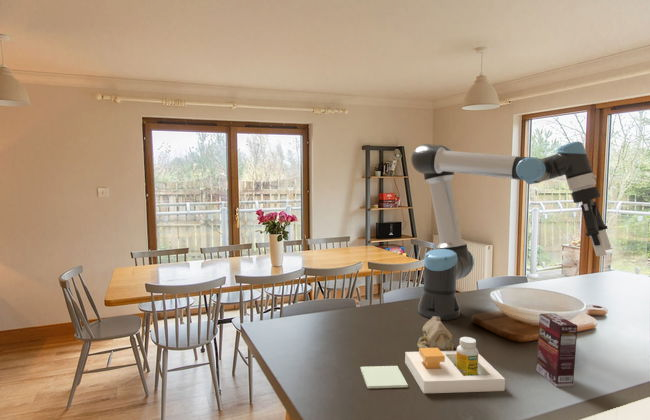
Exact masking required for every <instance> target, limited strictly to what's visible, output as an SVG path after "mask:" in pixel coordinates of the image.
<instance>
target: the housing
mask: <svg viewBox="0 0 650 420" xmlns="http://www.w3.org/2000/svg"><path fill="white" fill-rule="evenodd" d="M441 352H442V353H443V355H444V356H445V362H440V368H439V369H426V368H425V367H424V365H423V359H422V357H421V356H420V354H419V351H405V352H404V353H405V354H404V355H405V356H404V358H405V359H404V363H405V365H406V367H407V368H408V370H409V371H410V373H411V375H412V377H413V378H414V380H415V381H416V383H417V385H418V386H419V388H420V390H421V391H422V393H423V394H443V393H444V394H447V393H448V394H450V393H452V394H453V393H477V392H478V393H479V392H480V393H481V392H484V393H485V392H505V389H506V388H505V387H506V386H505V385H506V378H505V377H503V375H502V374H501V373H499V371H498V370H497V369H495V368H494V367H493V365H491V364H490V363H489V362H488V361H487V360H486V359H485V358H484V357H483V356H482V355H481V354H480V353H479V352H478V372H477V376H463V375H462V374H461V372H460V371H459V370H458V369H457V368H456V352H457V350H453V351H441Z"/></svg>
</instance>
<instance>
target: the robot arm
mask: <svg viewBox="0 0 650 420" xmlns="http://www.w3.org/2000/svg"><path fill="white" fill-rule="evenodd" d="M556 150H557V153H556V154H553V155H551V156H550V155H549V156H546V157H543V158H538V157H536V156H535V157H534V156H517V155H516V156H515V155H504V154H492V153H481V152H470V151H469V152H468V151H456V150H455V151H454V150H451V149H450V148H448V147H446V146H444V145H440V144H432V143H425V144H424V143H423V144H421V145H419V146H417V147H416V148H415V149H414V150H413V152H412V154H411V157H410V162H411V165H412V167H413V168H414V169H415V170H414V171H416V172H418V173H420V174H423V178H424V181H425V183H426V184H429V185H428V186H429V190H430V195H431V200H432V207H433V212H434V218H435V222H436V228H437V234H438V239H439V240H438V241H439V244H437V246H436V249H431V250H428V251H427V252H426V253H425V255H424V260H423V265H424V267H423V291H422V294H421V297H420V299H419V302H418V304H417V305H418V306H417V313H419V314H420V315H421V316H424V318H425V317H426V318H429V319H431V318H432V317H433V316H439V317H440V319H441V321H442V320H445V321H446V320H447V321H448V320H455V319H458V318H459V317H460V316H461V315H460V313H461V309H460V305H459V302H458V299H457V291H456V289H457V281H458V280H461V279H464V278H465V277H467V276H468V275H469V274H470V273H471V272H472V271H473V269H474V265H475V258H474V256H473V254H472V253H471V251H469V250H468V249H469V248H468V245H467V242H466V241H465V240H463V238H462V232H461V228H460V227H461V226H460V223H459V216H458V211H457V207H456V206H457V205H456V199H455V195H454V189H453V184H452V180H453V178H454V177H455V173H456V174H464V175H465V174H466V175H473V176H474V175H475V176H483V177H493V178H501V179H510V180H517V181H524V182H525V183H526V184H527V185H533V184H540V183H541V182H546V181H548V180H549V181H550V180H552V179H556V178H557V177H563V176H565V179H566V182H567V185H568V188H569V191H572V192H571V193H570V194H571V197H572V200H573V203H575V204H578V203H582V204H581V205H580V209H581V211H582V214H583V219H584V224H585V228H586V233H585V236H586V237H589V238H590V241H591V245H592V247H593V250H594V253H595V257H603V256H606V255H607V250H612V246H611V243H610V239H609V237H608V234H607V230H608V225H606V224H605V223H604V220H603V218H602V215H601V213H600V211H599V206H598V204H597V202H596V201H594V200H595V199H599V198H600V197H601V194H600V193H601V192H600V191H599V190H600V189H599V188H598V186H596V184H597V182H596V178H597V175H596V174H594V173H593V170H592V166H591V164H590V163H591V162H590V160H589V156H588V153H587V151H586V149H585V147H584V143H583V142H581V141H572V142H569V143H568V142H567V143H565V144H563V145H561V146H558V147H557V149H556Z"/></svg>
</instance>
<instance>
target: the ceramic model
mask: <svg viewBox="0 0 650 420" xmlns="http://www.w3.org/2000/svg"><path fill="white" fill-rule="evenodd" d="M422 332H423V336H420V337H419V338H418V341H417V348H418V349H419V348H438V349H439V350H440V351H454V348H455V345H454V342H453V341H452V339H453V338H454V337H453V334H452V333H451V332H450V331H449V329H447V328H446V327H445V325H444V324H443V322H442V320H441V319H440V317H439V316H433V317H432V318H429V320H428V321H426V322H425V323H424V324H423V327H422Z"/></svg>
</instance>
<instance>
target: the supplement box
mask: <svg viewBox="0 0 650 420" xmlns="http://www.w3.org/2000/svg"><path fill="white" fill-rule="evenodd" d="M538 320H539V321H538V322H539V324H538V339H537V355H536V369H535V370H536V372H538V373H539V374H540V375H541V376H543V377H544V378H545V379H546V380H548V381H549V382H550V383H551V384H553V386H554V387H556V388H557V387H558V388H561V387H563V388H565V387H573V386H574V377H575V363H576V350H577V349H576V348H577V337H578V324H576V323H573V322H572V321H569V320H567V319H566V318H564V317H563V316H560V315H558V314H557V313H555V312H554V313H552V312H551V313H539V319H538Z"/></svg>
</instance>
